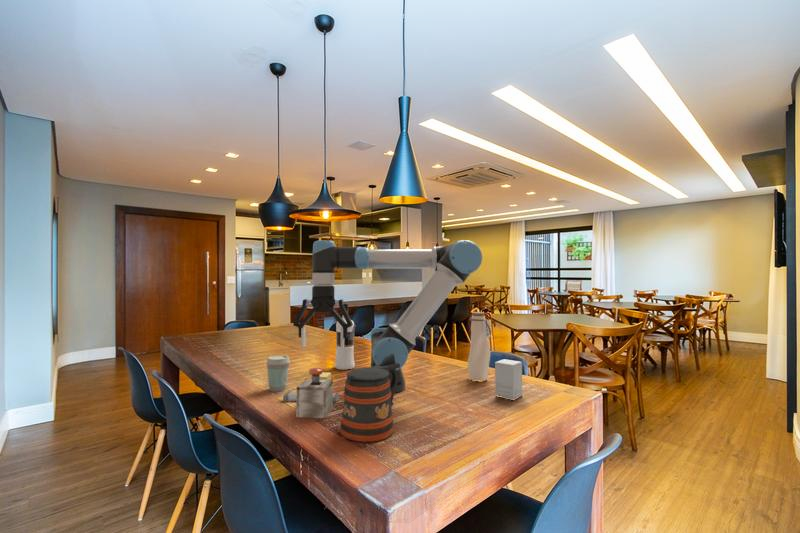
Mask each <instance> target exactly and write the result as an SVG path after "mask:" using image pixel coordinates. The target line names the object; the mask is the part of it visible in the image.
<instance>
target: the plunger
mask: <svg viewBox="0 0 800 533" xmlns="http://www.w3.org/2000/svg"><path fill="white" fill-rule="evenodd" d="M322 372H323V368H320V367H313V368H310V369H308V375H311V379H312V385H320V374H322Z"/></svg>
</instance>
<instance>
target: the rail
mask: <svg viewBox="0 0 800 533" xmlns="http://www.w3.org/2000/svg"><path fill="white" fill-rule="evenodd" d="M339 399H340V392H336V393H333V404H337V403H338V401H339ZM282 402H283V403H286V402H297V392H295V391H294V392H292V391H287V392H285V394H284V395H283V396H282Z"/></svg>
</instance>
